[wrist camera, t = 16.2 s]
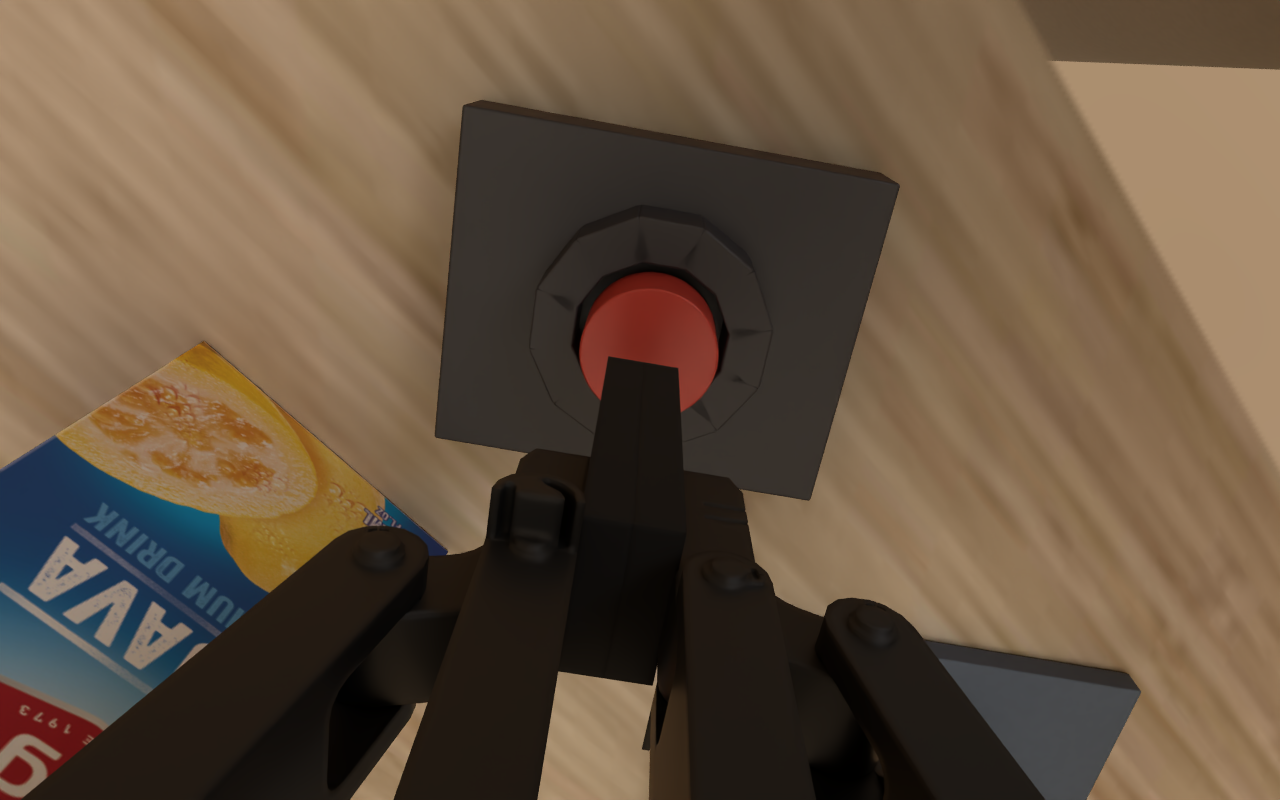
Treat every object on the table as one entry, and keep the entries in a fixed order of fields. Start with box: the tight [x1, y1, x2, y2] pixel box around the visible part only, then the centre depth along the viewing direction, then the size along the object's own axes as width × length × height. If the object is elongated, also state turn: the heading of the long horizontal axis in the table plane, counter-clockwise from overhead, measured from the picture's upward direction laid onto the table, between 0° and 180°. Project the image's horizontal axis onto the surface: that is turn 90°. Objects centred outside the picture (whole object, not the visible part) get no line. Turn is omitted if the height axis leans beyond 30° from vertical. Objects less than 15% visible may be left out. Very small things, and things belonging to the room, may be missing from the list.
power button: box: [579, 272, 719, 412], centre depth 23 cm, size 4×4×2 cm
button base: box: [435, 100, 900, 500], centre depth 25 cm, size 12×10×4 cm
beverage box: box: [0, 341, 448, 800], centre depth 20 cm, size 7×11×22 cm, turn 43°
